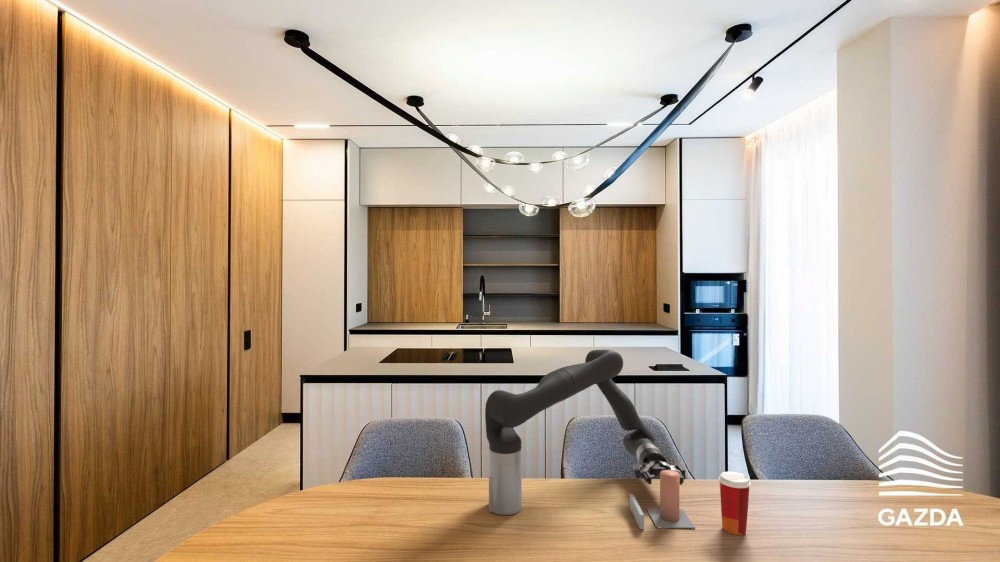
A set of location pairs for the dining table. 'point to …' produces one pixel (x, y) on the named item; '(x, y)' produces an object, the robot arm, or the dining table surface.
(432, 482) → the dining table surface
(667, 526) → the resting mat
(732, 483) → the paper cup
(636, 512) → the acrylic wall
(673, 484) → the salmon pink cylinder
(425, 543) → the dining table surface
